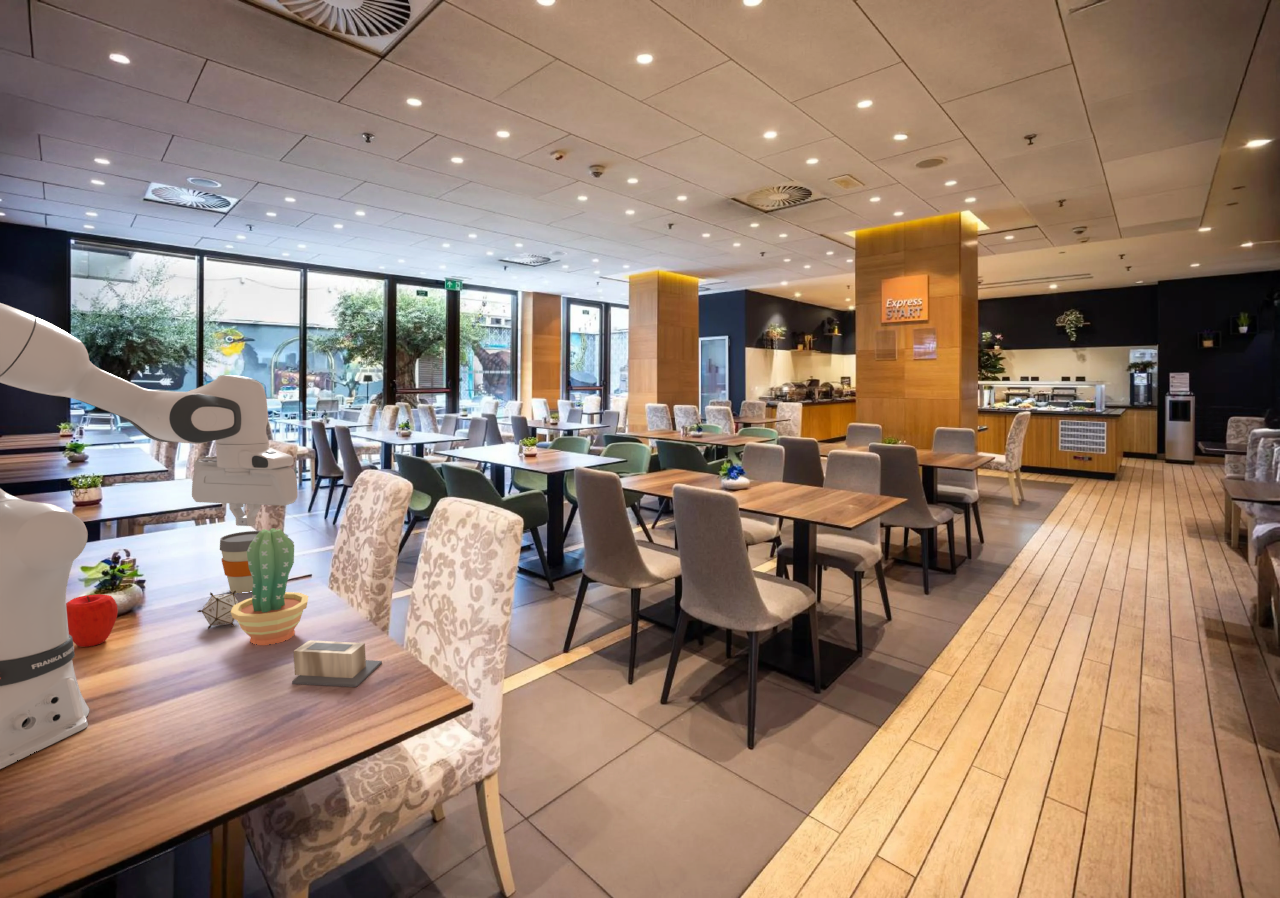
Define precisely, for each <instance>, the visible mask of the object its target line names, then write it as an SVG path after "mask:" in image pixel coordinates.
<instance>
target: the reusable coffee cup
mask: <svg viewBox="0 0 1280 898" xmlns="http://www.w3.org/2000/svg"><path fill="white" fill-rule="evenodd" d="M260 531H261V530H252V531H251V530H248V531H241V532H235V533H230V534H226V535H224V536H221V538H220V539H219V550H220V552H221V555H222V558H221V563H222V568H223V571H224V576H227V578H226V579H227V581H228V582H227V583H228V586H229V590H230V593H231V594H232V593H233V592H234V591H235V590H236V592H235V594H236V593H242V592H250V591H253V578H252V575H251V573H250V570H249V566H248V558H247V550H248V548H249V545H250V543H251V542H252V541H253V539H254V538H255V537H256V536H257V534H258V533H259V532H260Z"/></svg>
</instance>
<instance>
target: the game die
mask: <svg viewBox="0 0 1280 898" xmlns="http://www.w3.org/2000/svg"><path fill="white" fill-rule="evenodd" d="M235 592H236V590H235V591H234V592H233V593H232V592H231V593H223V594H222V593H221V594H214V593H212V592H209V595H210V596H211V597H210V598H209V599H208V601H207V602H206V603H205V605H204V606H203V608H202V609H198V610H197V613H202V614H203V616H204V618H205V619H206V621H207V622H208V624H209V626H207V630H210V629H212V627H214V626H224V625H231V626H232V627H233V626H234V627H235V623H234V621H235V620H236V619H234V618H233V617H232V615H231V610H232V608H233V606H234V605H236V604H238V603H240V602H239V601H238V598H237V596H236V595H235V594H236V593H235Z"/></svg>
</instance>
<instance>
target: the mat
mask: <svg viewBox="0 0 1280 898" xmlns="http://www.w3.org/2000/svg"><path fill="white" fill-rule="evenodd" d="M382 664H383V661H382V660H372V659H371V660H370V659H369V660H368V659H366V667H365V668H363V669H362V670H361V671H360V672H359V673H358V674H357V675H355V676H354V677H353V678H340V677H322V676H305V675H297V677H296V678H294V679H293V680H292V681H291V684H292V685H308V686H309V685H310V686H314V685H315V686H330V687H347V688H348V687H349V688H350V687H351V688H357V687H358V686H359V685H361V683H363V682H364V681H365V680H366V679H367V678H368V677H369V676H370V675H371V674H372V673H373V672H374V671H375V670H377V669H378V668H379V666H380V665H382Z"/></svg>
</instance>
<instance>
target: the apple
mask: <svg viewBox="0 0 1280 898" xmlns="http://www.w3.org/2000/svg"><path fill="white" fill-rule="evenodd" d="M66 607H67V620H68V631H69V635H71V636H72V639H73V644H75V645H77V647H82V648H86V647H94V646H98V645H101V644H102V643H104V642H105V641H106V640H107V639H108V638H109V636H110V635H111V633H112V630H113V629H114V626H115V623H116V621H117V618H118V613H119V611H118V605H117V601H116V600H115V598H114V597H113V596H112V595H108V594H101V593H98V594H97V593H96V594H89V595H88V594H87V595H82V596H78V597H74V598H72V599H70V600H68V601H66Z"/></svg>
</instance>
